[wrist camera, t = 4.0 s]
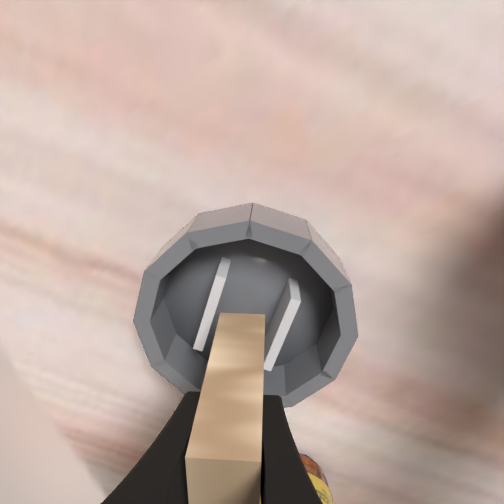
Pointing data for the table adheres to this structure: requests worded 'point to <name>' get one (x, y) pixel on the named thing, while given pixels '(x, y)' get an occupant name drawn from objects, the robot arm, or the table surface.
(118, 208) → the table surface
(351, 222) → the table surface
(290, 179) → the table surface
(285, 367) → the grey round bowl
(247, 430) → the wooden jenga block
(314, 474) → the sauce bottle
